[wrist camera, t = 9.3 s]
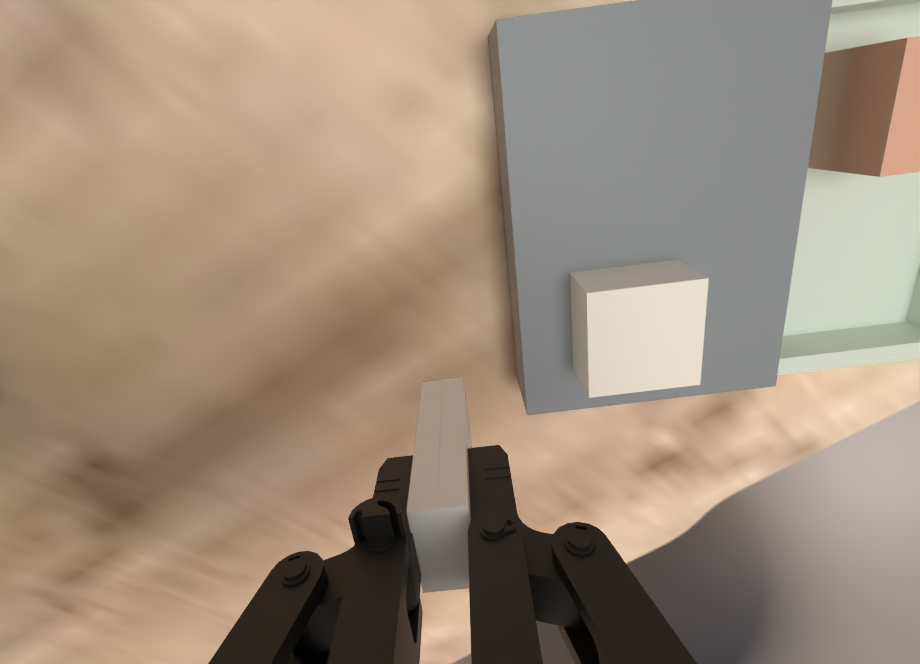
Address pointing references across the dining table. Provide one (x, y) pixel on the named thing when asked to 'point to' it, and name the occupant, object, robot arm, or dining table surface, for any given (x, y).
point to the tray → (857, 238)
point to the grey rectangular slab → (655, 171)
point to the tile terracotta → (869, 110)
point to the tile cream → (638, 327)
